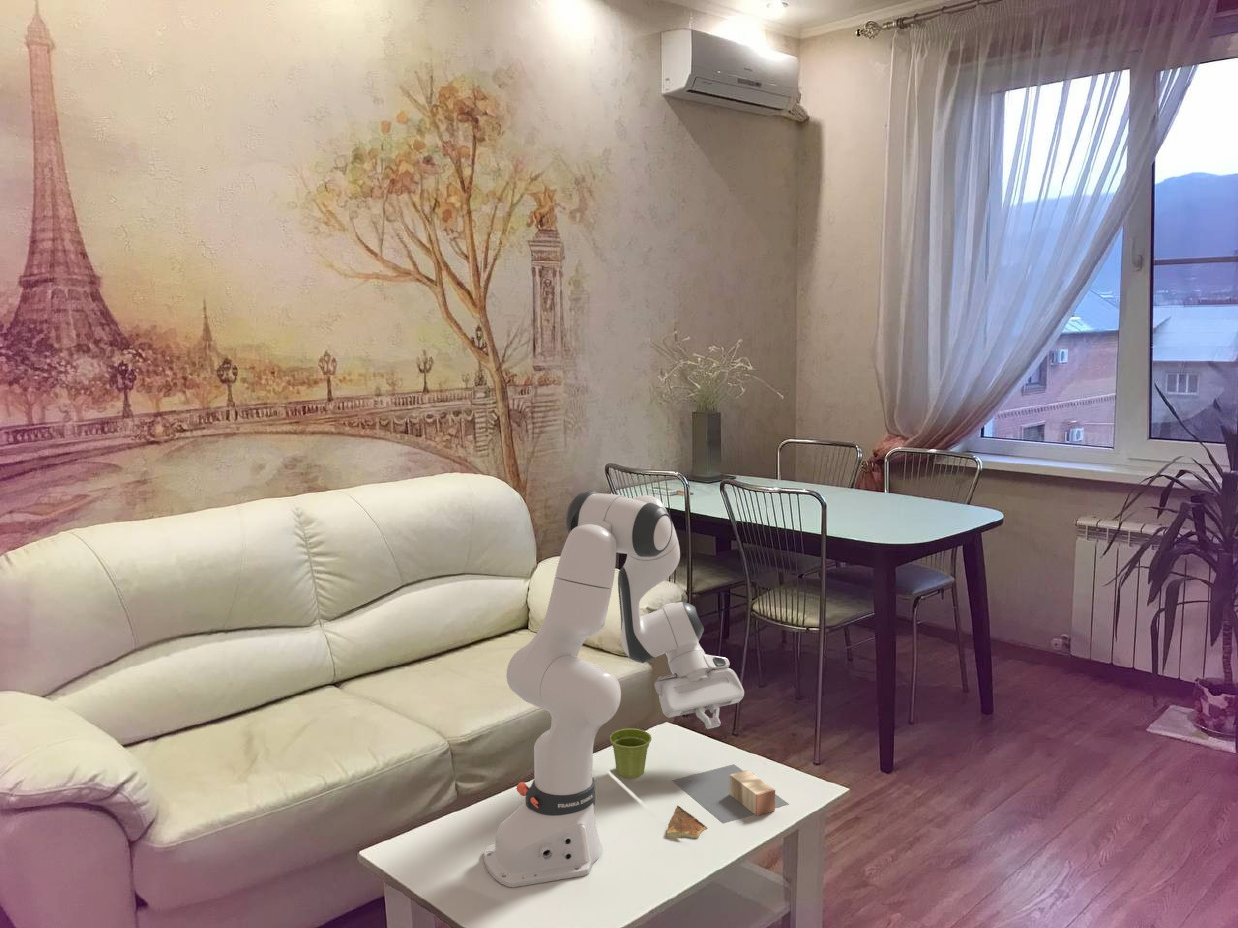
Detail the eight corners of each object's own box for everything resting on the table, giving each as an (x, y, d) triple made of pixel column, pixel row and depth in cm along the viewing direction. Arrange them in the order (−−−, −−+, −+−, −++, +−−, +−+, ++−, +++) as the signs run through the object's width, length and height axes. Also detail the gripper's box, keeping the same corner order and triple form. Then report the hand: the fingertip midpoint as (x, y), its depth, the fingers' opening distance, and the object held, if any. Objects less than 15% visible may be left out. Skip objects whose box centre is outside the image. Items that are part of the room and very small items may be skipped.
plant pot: (659, 770, 214) (659, 734, 213) (637, 787, 206) (637, 749, 205) (624, 760, 219) (623, 725, 218) (601, 776, 211) (601, 740, 210)
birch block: (729, 794, 201) (756, 815, 193) (729, 774, 201) (757, 794, 192) (747, 789, 204) (774, 810, 195) (747, 769, 203) (775, 789, 194)
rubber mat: (723, 825, 190) (722, 823, 190) (671, 782, 208) (671, 780, 208) (789, 806, 197) (789, 803, 197) (734, 766, 215) (734, 764, 215)
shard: (677, 811, 197) (677, 803, 196) (713, 817, 194) (713, 809, 194) (665, 838, 186) (665, 830, 186) (703, 844, 184) (703, 835, 184)
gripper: (656, 671, 210) (679, 730, 202) (733, 657, 219) (757, 712, 212) (647, 684, 214) (668, 741, 207) (722, 669, 223) (745, 723, 216)
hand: (714, 726), depth 209 cm, fingers closed
